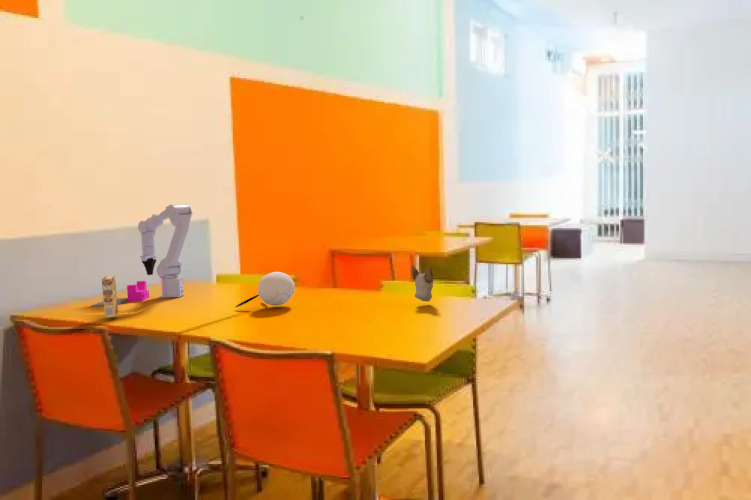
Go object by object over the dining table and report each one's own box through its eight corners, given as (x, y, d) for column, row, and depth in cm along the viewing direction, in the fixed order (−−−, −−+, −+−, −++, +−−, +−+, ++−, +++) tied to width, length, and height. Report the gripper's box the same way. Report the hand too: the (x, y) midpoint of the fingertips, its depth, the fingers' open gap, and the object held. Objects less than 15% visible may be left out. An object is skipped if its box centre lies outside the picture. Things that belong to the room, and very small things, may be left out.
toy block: (141, 301, 319) (140, 285, 318) (128, 302, 319) (126, 285, 318) (152, 296, 334) (151, 280, 333) (139, 297, 334) (138, 281, 333)
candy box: (115, 317, 279) (112, 278, 278) (104, 318, 278) (101, 278, 277) (118, 313, 287) (115, 275, 286) (107, 314, 286) (104, 276, 285)
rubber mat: (134, 298, 328) (134, 296, 328) (116, 305, 308) (116, 303, 308) (110, 299, 328) (110, 297, 328) (90, 306, 309) (90, 304, 309)
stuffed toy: (311, 290, 297) (269, 316, 308) (296, 261, 299) (255, 288, 310) (284, 297, 280) (242, 324, 292) (269, 266, 282) (227, 295, 294)
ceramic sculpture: (442, 301, 289) (441, 265, 288) (428, 304, 283) (427, 267, 282) (421, 299, 297) (420, 263, 295) (408, 302, 290) (407, 265, 289)
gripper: (145, 245, 345) (147, 273, 346) (134, 247, 331) (135, 276, 332) (160, 244, 345) (161, 272, 346) (149, 247, 330) (150, 276, 331)
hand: (150, 274), depth 339 cm, fingers closed
